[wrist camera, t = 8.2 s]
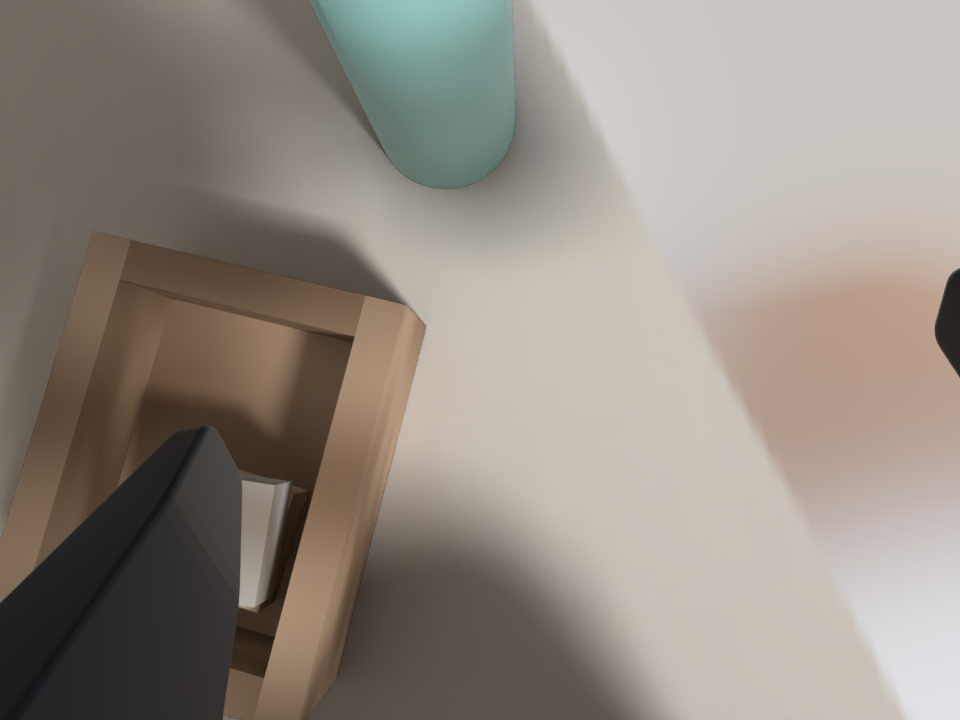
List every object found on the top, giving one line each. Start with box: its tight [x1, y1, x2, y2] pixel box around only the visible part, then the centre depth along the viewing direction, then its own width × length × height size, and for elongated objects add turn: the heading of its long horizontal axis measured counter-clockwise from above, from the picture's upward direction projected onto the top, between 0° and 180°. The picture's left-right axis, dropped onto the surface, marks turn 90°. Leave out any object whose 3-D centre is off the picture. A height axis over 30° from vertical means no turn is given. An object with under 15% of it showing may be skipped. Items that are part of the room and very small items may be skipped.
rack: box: [0, 231, 426, 720], centre depth 18 cm, size 10×8×3 cm
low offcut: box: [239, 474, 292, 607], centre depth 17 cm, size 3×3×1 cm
